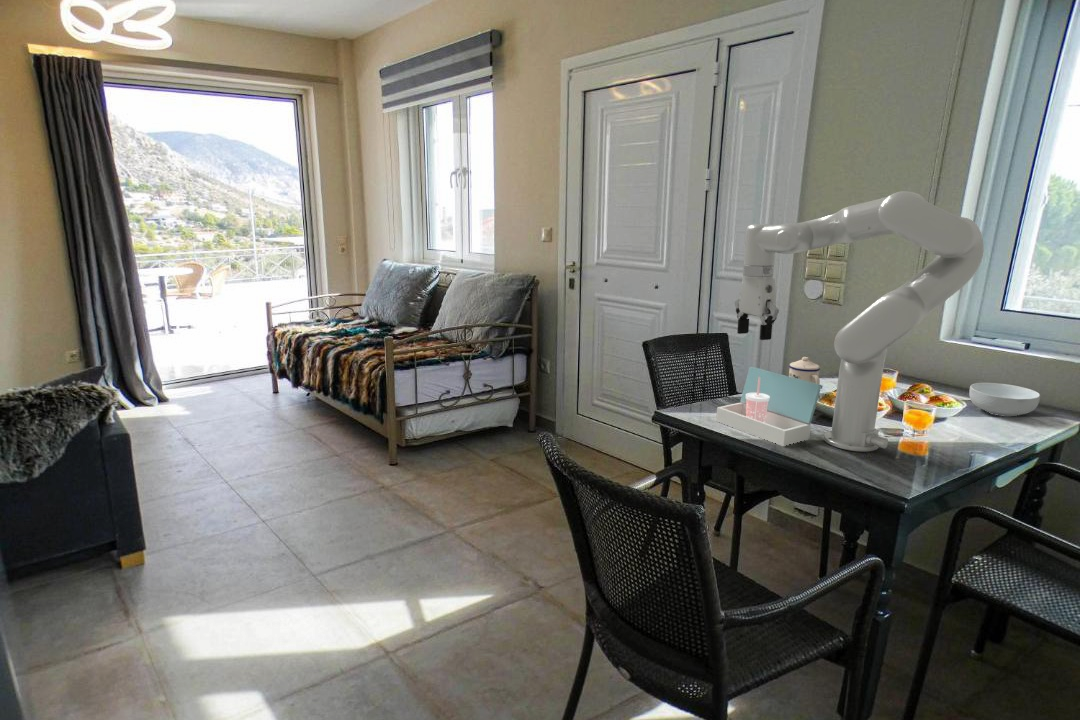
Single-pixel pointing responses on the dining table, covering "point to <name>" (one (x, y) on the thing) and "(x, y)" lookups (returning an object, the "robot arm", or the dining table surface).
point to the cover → (784, 394)
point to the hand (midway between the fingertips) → (753, 336)
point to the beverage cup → (757, 404)
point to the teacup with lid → (805, 370)
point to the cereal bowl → (1003, 398)
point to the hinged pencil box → (764, 425)
